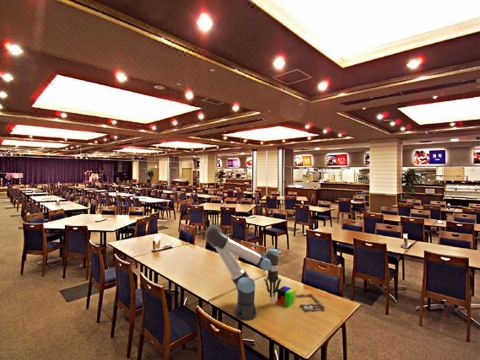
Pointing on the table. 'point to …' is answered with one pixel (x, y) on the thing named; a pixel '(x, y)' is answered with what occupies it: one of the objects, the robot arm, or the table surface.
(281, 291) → the puzzle toy
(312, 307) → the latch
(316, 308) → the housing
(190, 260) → the table surface
